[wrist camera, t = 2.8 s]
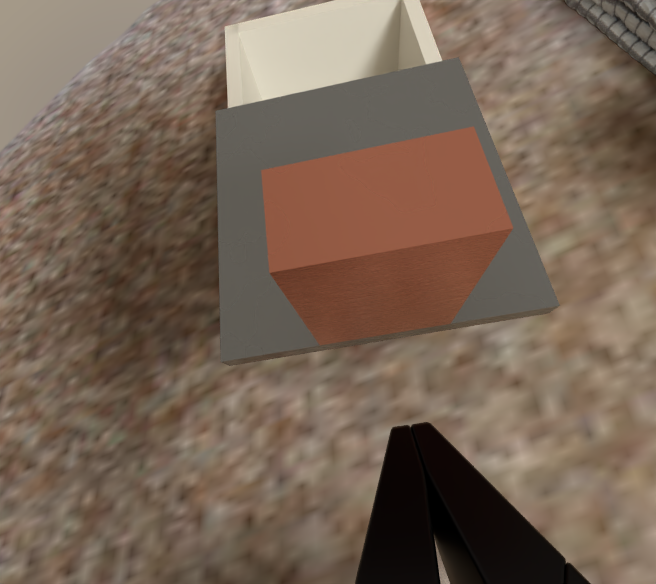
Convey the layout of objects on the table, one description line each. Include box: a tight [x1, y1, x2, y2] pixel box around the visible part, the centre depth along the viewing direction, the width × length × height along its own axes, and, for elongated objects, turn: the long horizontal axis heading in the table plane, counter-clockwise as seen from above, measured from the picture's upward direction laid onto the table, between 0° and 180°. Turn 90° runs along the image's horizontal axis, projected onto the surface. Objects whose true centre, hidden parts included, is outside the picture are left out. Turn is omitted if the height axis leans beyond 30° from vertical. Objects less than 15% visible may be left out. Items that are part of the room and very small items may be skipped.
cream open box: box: [225, 0, 442, 108], centre depth 21 cm, size 12×11×6 cm
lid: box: [216, 57, 560, 366], centre depth 12 cm, size 12×11×7 cm
